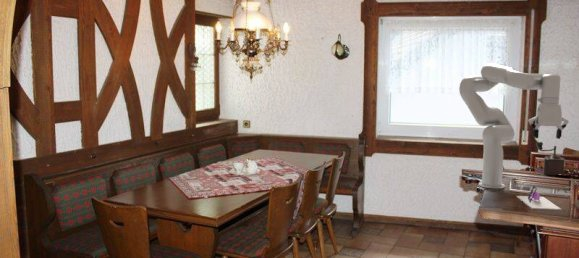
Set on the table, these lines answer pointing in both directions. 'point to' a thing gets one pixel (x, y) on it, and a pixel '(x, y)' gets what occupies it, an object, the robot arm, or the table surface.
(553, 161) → the pepper mill
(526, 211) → the table surface
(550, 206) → the mat
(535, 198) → the purple block
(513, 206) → the table surface
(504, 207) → the table surface
